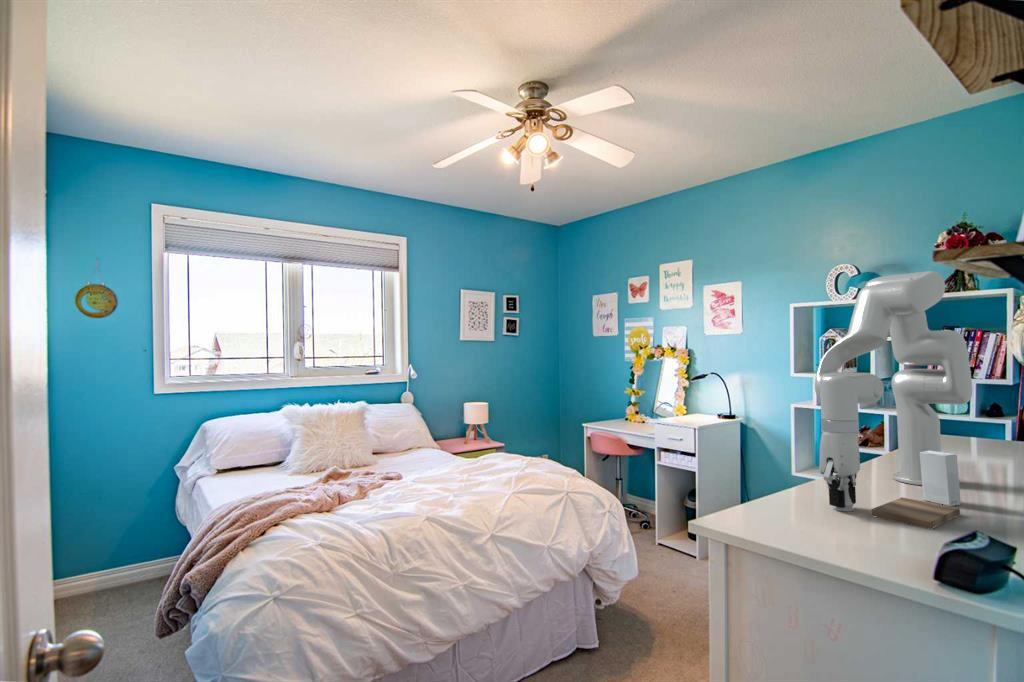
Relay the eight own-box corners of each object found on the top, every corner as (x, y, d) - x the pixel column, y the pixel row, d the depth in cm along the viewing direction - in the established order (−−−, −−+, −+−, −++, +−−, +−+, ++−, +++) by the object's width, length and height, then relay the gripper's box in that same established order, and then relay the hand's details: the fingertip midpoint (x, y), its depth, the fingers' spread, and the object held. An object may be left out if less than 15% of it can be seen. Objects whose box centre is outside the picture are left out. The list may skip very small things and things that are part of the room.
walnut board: (902, 503, 125) (902, 497, 125) (959, 514, 116) (959, 508, 116) (871, 515, 116) (871, 509, 116) (930, 529, 107) (930, 522, 107)
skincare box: (961, 504, 123) (959, 454, 123) (949, 507, 121) (947, 455, 122) (933, 498, 129) (930, 449, 129) (921, 500, 127) (919, 451, 127)
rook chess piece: (857, 512, 119) (856, 478, 119) (836, 512, 120) (835, 477, 120) (849, 507, 123) (848, 473, 123) (828, 506, 124) (827, 473, 124)
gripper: (840, 422, 130) (843, 495, 129) (804, 428, 121) (807, 507, 120) (874, 425, 123) (877, 502, 123) (838, 432, 114) (842, 515, 114)
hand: (842, 503), depth 121 cm, fingers closed on rook chess piece, 4 cm apart
